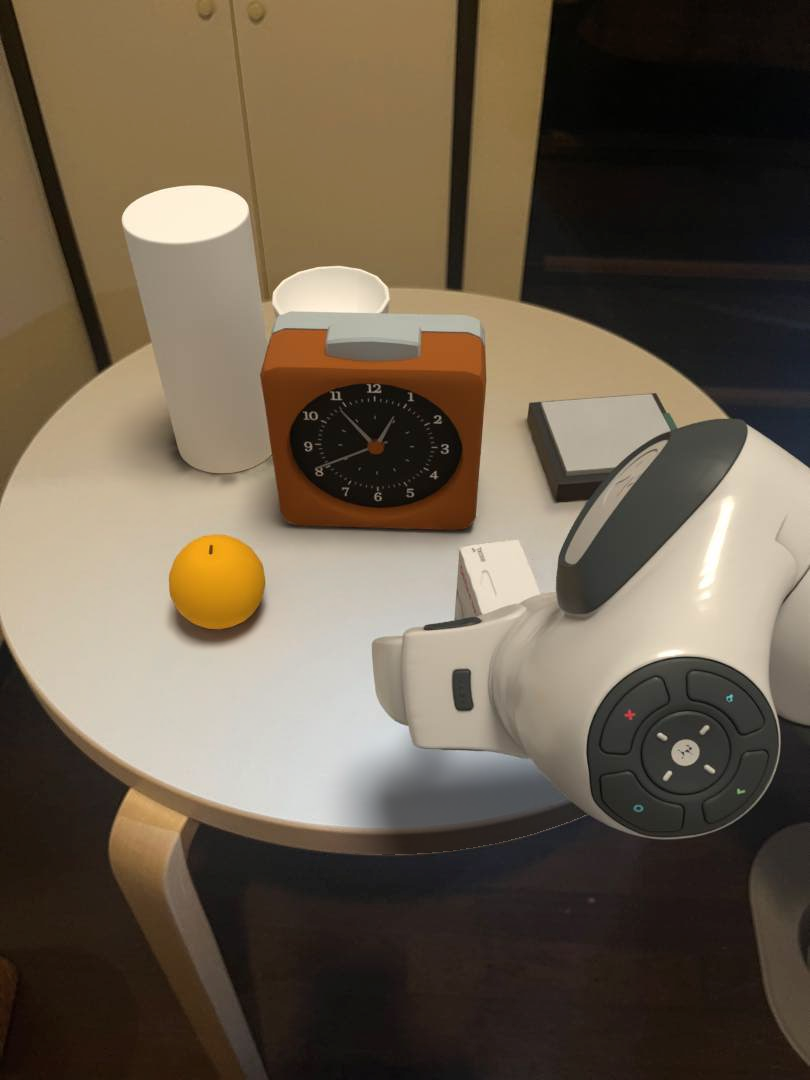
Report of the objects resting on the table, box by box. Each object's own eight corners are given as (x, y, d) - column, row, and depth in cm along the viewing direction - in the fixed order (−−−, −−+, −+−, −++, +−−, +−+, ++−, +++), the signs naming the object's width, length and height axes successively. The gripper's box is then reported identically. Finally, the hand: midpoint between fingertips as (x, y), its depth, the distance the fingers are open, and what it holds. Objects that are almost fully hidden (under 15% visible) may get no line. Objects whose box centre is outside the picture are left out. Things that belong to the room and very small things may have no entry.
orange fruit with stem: (162, 634, 73) (143, 575, 68) (198, 567, 79) (182, 508, 73) (251, 651, 72) (238, 593, 67) (281, 581, 77) (272, 522, 72)
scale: (651, 410, 95) (657, 387, 92) (693, 490, 86) (700, 467, 83) (526, 420, 93) (529, 397, 91) (555, 502, 85) (559, 478, 82)
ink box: (538, 714, 68) (556, 621, 59) (477, 726, 67) (487, 633, 59) (506, 630, 74) (519, 534, 65) (450, 640, 73) (455, 544, 64)
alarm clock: (280, 528, 82) (252, 343, 67) (293, 467, 88) (269, 285, 73) (474, 533, 82) (489, 348, 67) (473, 472, 88) (487, 289, 73)
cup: (260, 394, 97) (247, 307, 89) (320, 340, 104) (313, 255, 96) (355, 428, 92) (350, 340, 84) (410, 369, 100) (411, 282, 92)
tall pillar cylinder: (300, 435, 92) (274, 208, 74) (225, 488, 86) (177, 255, 68) (232, 396, 96) (192, 173, 78) (156, 444, 91) (94, 215, 73)
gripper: (745, 599, 47) (652, 582, 61) (375, 634, 46) (365, 609, 59) (754, 713, 47) (658, 670, 61) (385, 752, 46) (372, 699, 60)
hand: (511, 640), depth 60 cm, fingers open, 8 cm apart
